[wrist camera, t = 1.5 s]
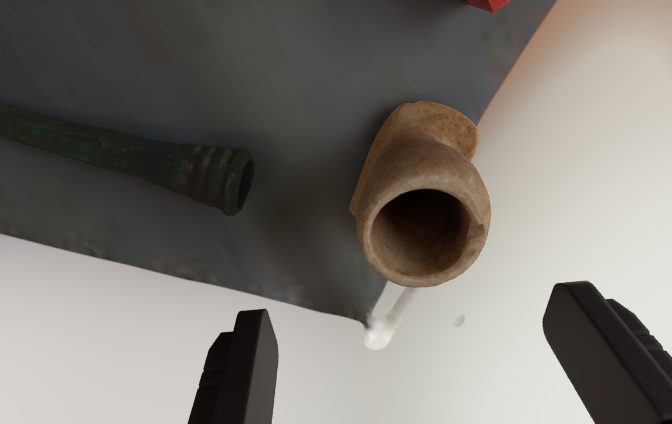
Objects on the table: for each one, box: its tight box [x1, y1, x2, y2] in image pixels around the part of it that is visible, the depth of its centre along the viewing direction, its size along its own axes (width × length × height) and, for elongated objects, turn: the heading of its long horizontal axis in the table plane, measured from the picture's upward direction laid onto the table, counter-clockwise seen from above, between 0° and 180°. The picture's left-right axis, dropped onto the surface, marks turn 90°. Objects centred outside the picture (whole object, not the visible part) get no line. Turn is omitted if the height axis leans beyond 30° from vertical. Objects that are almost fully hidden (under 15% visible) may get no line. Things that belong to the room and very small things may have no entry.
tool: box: [0, 104, 255, 216], centre depth 32 cm, size 28×6×7 cm, turn 71°
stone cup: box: [349, 101, 491, 288], centre depth 32 cm, size 15×12×15 cm
